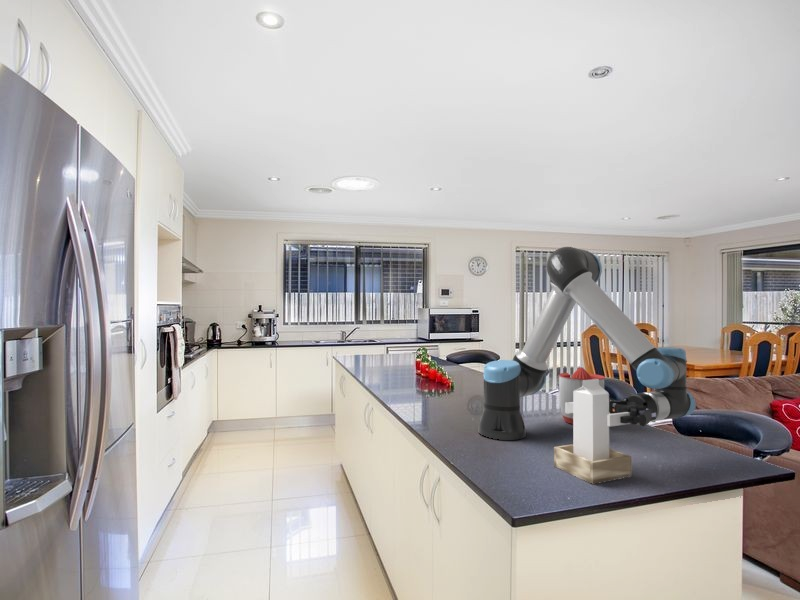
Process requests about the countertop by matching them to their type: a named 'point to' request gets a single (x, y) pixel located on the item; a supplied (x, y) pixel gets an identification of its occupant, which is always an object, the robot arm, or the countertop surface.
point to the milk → (591, 421)
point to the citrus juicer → (573, 388)
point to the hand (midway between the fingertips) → (585, 413)
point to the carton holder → (592, 465)
